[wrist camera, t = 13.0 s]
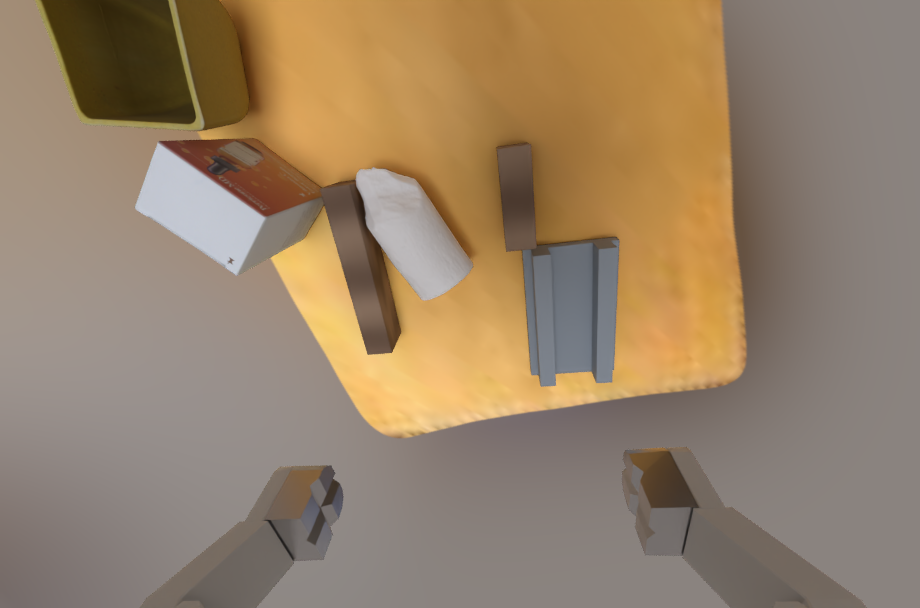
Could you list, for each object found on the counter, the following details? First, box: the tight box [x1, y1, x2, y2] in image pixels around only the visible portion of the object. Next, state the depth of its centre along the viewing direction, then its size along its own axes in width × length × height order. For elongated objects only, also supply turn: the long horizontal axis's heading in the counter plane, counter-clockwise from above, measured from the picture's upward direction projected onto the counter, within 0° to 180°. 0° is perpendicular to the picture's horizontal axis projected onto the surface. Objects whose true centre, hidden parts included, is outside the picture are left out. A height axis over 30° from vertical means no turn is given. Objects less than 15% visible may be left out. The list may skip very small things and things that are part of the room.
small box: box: [135, 138, 324, 276], centre depth 30 cm, size 8×6×10 cm
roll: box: [356, 167, 473, 300], centre depth 32 cm, size 6×12×6 cm, turn 34°
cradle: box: [522, 237, 619, 387], centre depth 36 cm, size 14×8×3 cm, turn 8°
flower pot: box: [35, 0, 249, 131], centre depth 26 cm, size 9×9×9 cm
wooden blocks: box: [320, 143, 537, 355], centre depth 34 cm, size 17×17×4 cm
